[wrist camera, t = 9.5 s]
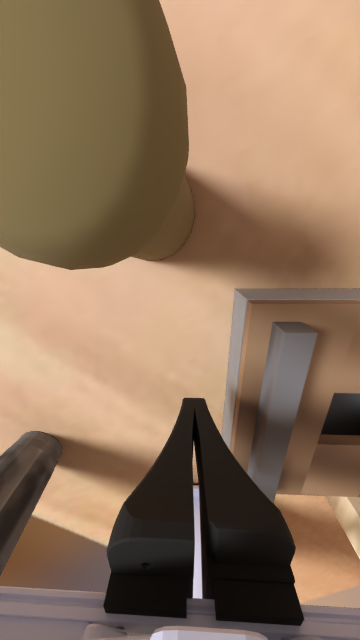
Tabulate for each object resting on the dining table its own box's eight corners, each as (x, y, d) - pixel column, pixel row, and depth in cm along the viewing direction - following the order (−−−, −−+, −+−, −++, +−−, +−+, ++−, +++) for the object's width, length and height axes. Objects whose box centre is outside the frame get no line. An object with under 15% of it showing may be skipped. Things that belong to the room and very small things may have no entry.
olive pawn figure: (87, 171, 12) (-506, -271, 2) (183, 140, 11) (135, -892, 1) (120, 269, 14) (-66, 333, 4) (203, 249, 13) (254, 258, 3)
